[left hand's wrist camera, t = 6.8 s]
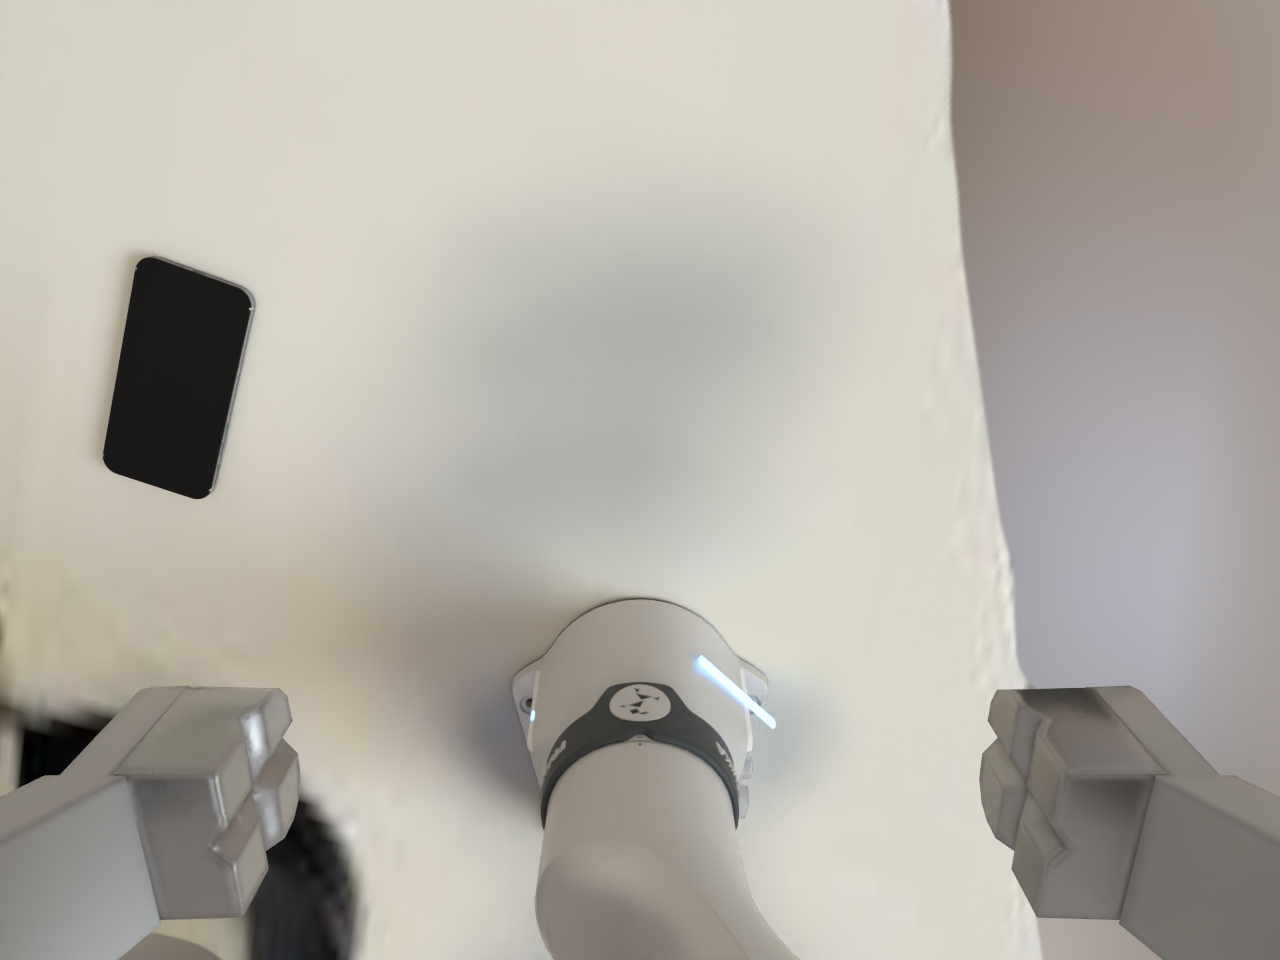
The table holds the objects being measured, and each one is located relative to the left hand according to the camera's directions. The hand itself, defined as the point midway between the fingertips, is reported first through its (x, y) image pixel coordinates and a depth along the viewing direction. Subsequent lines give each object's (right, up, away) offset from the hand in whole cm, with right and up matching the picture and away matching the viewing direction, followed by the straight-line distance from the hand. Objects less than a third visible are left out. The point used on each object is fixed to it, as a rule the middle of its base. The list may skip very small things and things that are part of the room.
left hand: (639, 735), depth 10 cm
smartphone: (-30, +9, +48) cm, 57 cm away
